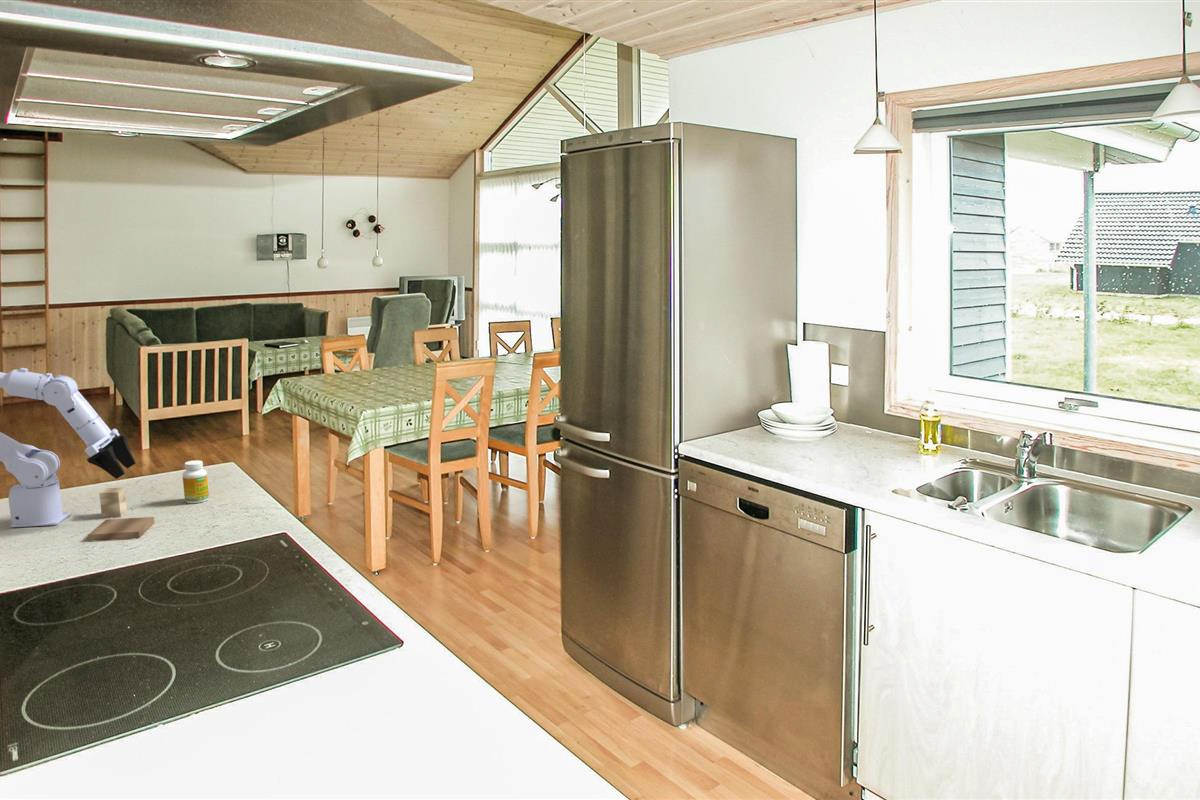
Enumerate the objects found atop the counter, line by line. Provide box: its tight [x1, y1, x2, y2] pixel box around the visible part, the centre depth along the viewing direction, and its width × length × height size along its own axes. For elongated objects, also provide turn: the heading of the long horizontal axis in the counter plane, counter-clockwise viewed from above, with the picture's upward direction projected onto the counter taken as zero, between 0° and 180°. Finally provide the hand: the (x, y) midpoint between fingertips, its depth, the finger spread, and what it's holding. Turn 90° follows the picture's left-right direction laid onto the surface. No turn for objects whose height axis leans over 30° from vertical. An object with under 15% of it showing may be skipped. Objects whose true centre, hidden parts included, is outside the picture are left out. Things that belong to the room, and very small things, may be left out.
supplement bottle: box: [182, 459, 210, 504], centre depth 209 cm, size 5×5×10 cm
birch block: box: [98, 486, 128, 519], centre depth 199 cm, size 4×4×6 cm
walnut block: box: [87, 516, 156, 542], centre depth 188 cm, size 10×10×2 cm
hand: (126, 471), depth 198 cm, fingers open, 7 cm apart
